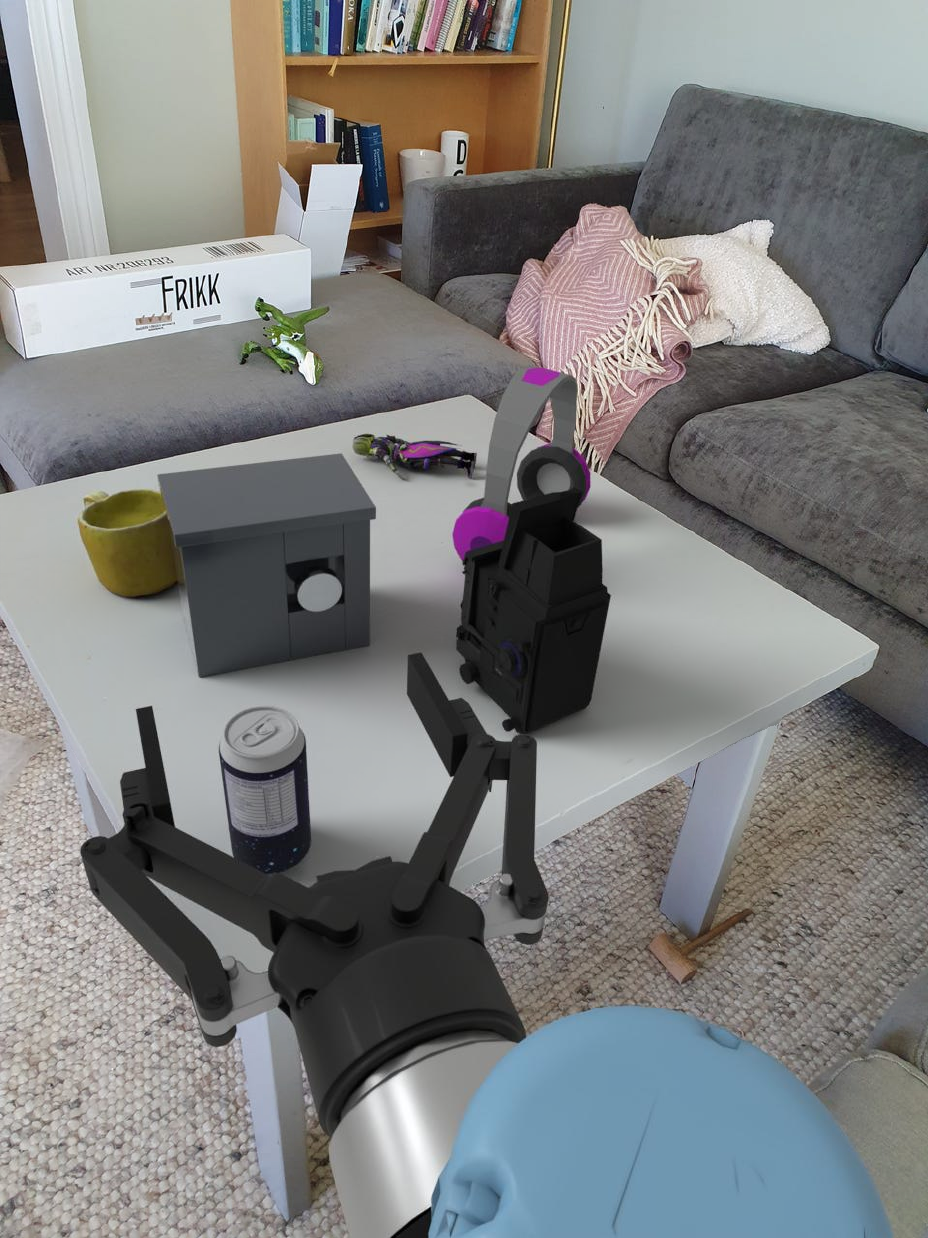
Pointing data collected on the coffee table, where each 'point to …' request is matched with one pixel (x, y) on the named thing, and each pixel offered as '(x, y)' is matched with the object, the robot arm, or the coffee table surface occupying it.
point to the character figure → (413, 453)
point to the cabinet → (268, 558)
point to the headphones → (540, 468)
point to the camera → (535, 613)
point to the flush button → (317, 588)
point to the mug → (129, 541)
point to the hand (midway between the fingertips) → (287, 698)
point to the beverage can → (266, 788)
